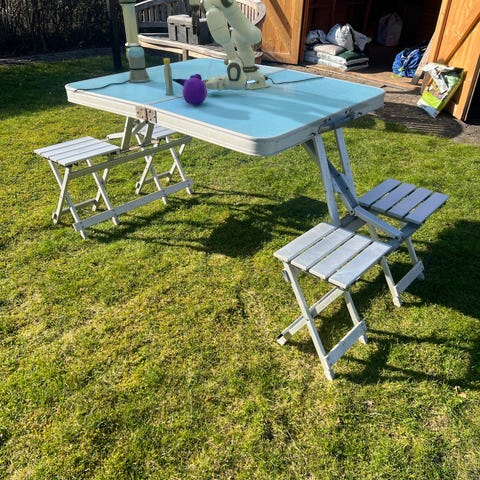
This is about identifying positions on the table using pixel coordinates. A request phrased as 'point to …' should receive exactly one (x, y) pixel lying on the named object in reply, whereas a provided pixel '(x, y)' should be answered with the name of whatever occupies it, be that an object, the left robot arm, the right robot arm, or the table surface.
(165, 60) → the cap
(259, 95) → the table surface
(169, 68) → the bottle
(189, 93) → the toy
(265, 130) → the table surface
